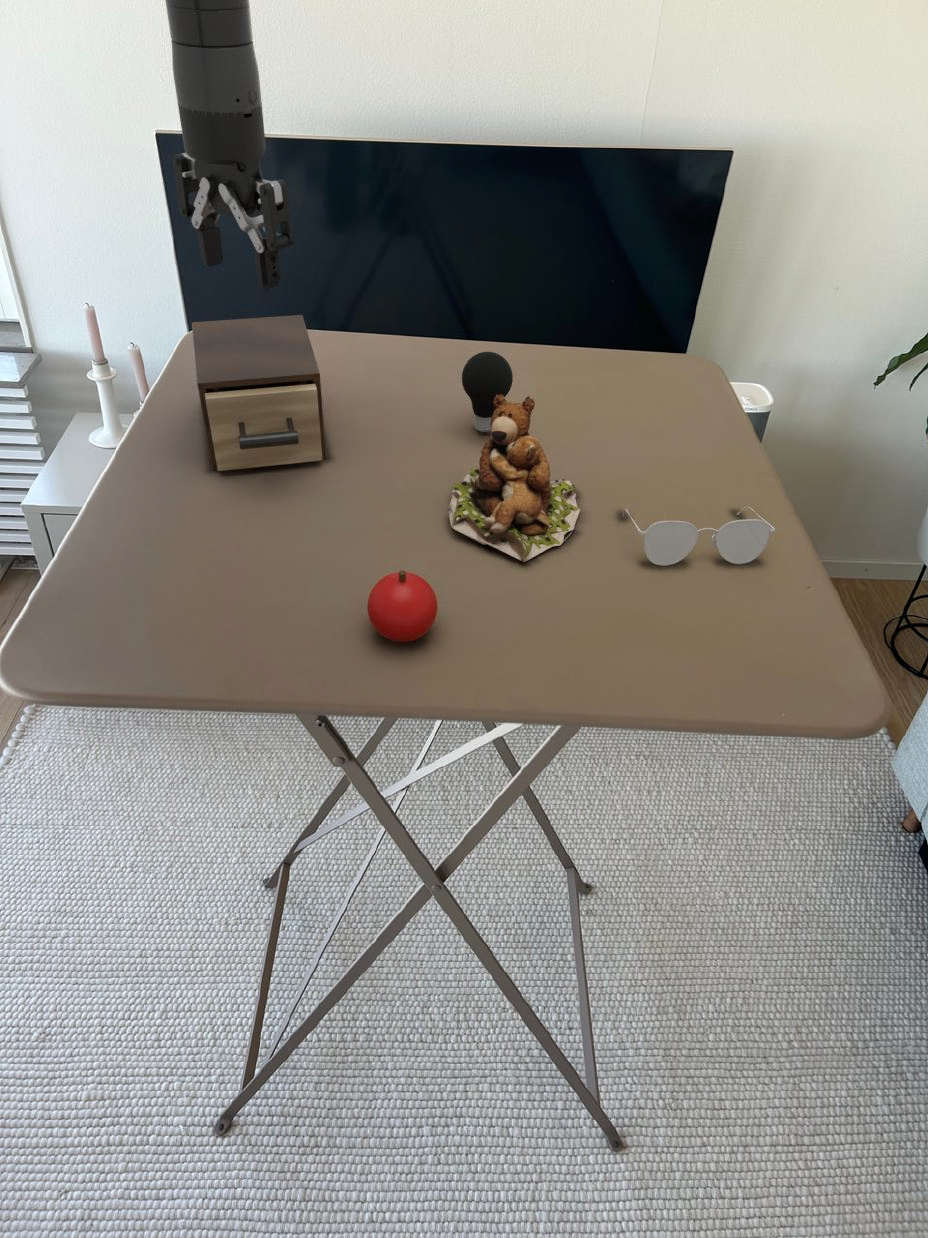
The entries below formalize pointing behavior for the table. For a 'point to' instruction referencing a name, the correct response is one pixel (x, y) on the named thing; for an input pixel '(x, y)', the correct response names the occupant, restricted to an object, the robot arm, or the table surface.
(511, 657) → the table surface
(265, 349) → the cabinet
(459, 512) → the bear figurine
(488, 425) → the light bulb
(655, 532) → the sunglasses
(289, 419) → the drawer
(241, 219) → the robot arm
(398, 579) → the apple
